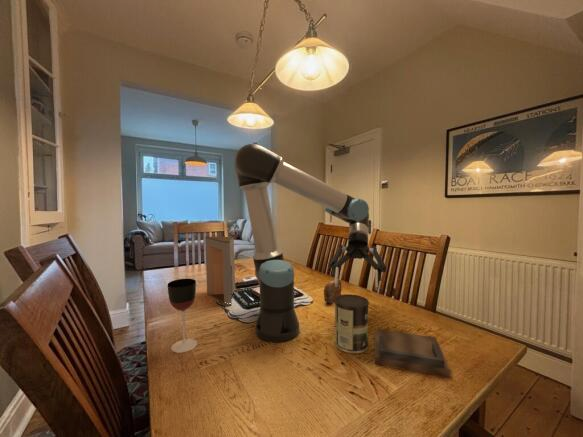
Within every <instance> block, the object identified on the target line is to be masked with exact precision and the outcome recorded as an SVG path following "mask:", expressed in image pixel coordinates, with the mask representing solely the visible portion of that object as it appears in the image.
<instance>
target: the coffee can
mask: <svg viewBox="0 0 583 437" xmlns="http://www.w3.org/2000/svg"><path fill="white" fill-rule="evenodd" d="M369 305H370V301H369V299H367V298H366V297H364V296H361V295H358V294H348V293H347V294H341V295H340V296H337V297H336V298H335V302H334V345H335V347H336V348H337V349H338V350H340V351H342V352H345V353H348V354H362V353H365V352H366V351H367V350H368V348H369Z"/></svg>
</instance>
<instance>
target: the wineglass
mask: <svg viewBox="0 0 583 437" xmlns="http://www.w3.org/2000/svg"><path fill="white" fill-rule="evenodd" d="M196 288H197V281H196V279H194V278H179V279H175V280H172V281H169V282H168V283H167V292H168V293H167V294H168V299H169V303H170V304H171V307H172V308H174V309H176V310H178V311H180V312H181V323H182V326H181V327H182V339H181V340H179V341H177V342H175V343H173V344H172V345H171V347H170V349H171V351H172V352H174V353H177V354H178V353H180V354H181V353H187V352H188V351H191V350H193V349H194V348H196V346H197V345H198V341H197V340H196V339H193V338H187V337H186V320H185V319H186V318H185V317H186V316H185V315H186V314H185V311H186V310H187V309H189V308H190V307H191V306H192V305H193V304H194V301H195V298H196ZM186 338H187V339H186Z"/></svg>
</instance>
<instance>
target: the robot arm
mask: <svg viewBox="0 0 583 437" xmlns="http://www.w3.org/2000/svg"><path fill="white" fill-rule="evenodd" d="M234 161H235V162H234V169H235V173H236V176H237V181H238V187H239V188H240V189H241V190H242V191H243V192H244V197H245V201H246V207H247V212H248V218H249V223H250V227H251V228H250V229H251V232H252V233H251V234H252V238H253V243H254V244H253V245H254V249H255V253H254V255H253V264H254V270H255V271H254V273H255V277H256V280H257V283H258V286H259V312H258V316H257V318H256V322H255V324H254V325H255V330H254V331H255V335H256V337H257V338H259V339H260V340H263V341H266V342H270V343H281V342H287V341H291V340H292V339H293V338H295V337H297V336H298V335H299V333H300V322H299V318H298V315H297V312H296V310H295V271H294V266H293V265H292V264H291V262H288V261H285V259H284V254H283V253H284V252H283V250H282V249H280V248H279V247H278V242H277V236H276V231H275V226H274V221H273V214H272V208H271V204H270V203H271V202H270V198H269V192H268V187H269V185H270V184H271V183H274V184H277V185H279V186H281V187H283V188H285V189H287V190H289V191H291V192H294V193H295V194H297V195H299V196H301V197H304V198H306V199H307V200H310V201H312V202H314V203H316V204H318V205H320V206H322V207H323V209H324V212H326V213H328V214H329V215H331V216H333V217H336V218H338V219H340V220H341V221H344V222H345V223H348V224H349V226H348V227H349V228H348V237H347V238H348V240H347V241H348V242H347V246H343V245H342V244H339V246H338V249H337V251H336V252H335V254H334V255H333V256H332V257H331V259H330V260H329V261H328V267H329V269H332V274H331V275H332V277H333V278H334V279H335V281H334V284H335V287H337V284H338V280H339V271H340V270H339V268H341V267H342V266H343V265H344V264H345V263H346V262H347V261H348V260H349V261H350V260H351V258H352V259H359V260H362V259H364V261H366V262H367V263H368V264H369V265H370V266H371V267H372V269H374V270H375V272H374V273H375V274H374V282H375V284H374V285H375V286H374V287H375V288H374V291H376V292H377V291H378V290H379V288H378V287H379V282H381V281H382V273H385V272H387V265H386V264H385V262H384V260H383V258H382V257H381V255H380V254H379V251H378V249H377V246H375V245H374V246H373V247H369V221H370V220H369V219H370V213H369V211H370V207H369V204H368V203H367V201H366V200H364V199H361V198H355V197H353V196H351V195H349V194H347V193H346V192H343V191H341V190H339V189H337V188H336V187H334V186H331V185H330V184H329V183H326V182H325V181H323V180H320V179H318V178H317V177H314V176H312V175H310V174H309V173H307V172H304V171H303V170H301V169H299V168H297V167H295V166H294V165H291V164H289V163H287V162H285V160H284V159H283V157H282V156H281V155H278V154H277V153H275V152H274V151H272V150H269V149H268V148H266V147H264V146H262V145H259V144H257V143H251V144H250V143H247V144H245V145H243V146H242V147H240V148H239V149H238V151H237V152H236V155H235V159H234ZM345 251H346V253H344V252H345ZM343 253H344V255H343V256H342V254H343ZM369 253H371V254H372V255H373V257H374V259H375V260H376V261H375V260H374V259H373V258H372V257H371V256H370V254H369ZM341 256H342V257H341Z"/></svg>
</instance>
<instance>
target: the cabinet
mask: <svg viewBox="0 0 583 437" xmlns="http://www.w3.org/2000/svg"><path fill="white" fill-rule="evenodd" d="M204 239H205V241H204V242H205V264H206V266H205V267H206V270H205V271H206V272H205V273H206V294H207V295H208V296H211V297H212V298H214V299H215V300H216V301H217V302H220V303H221V304H223V305H225V306H226V307H228V308H229V307H231V306H232V300H233V298H234V297H235V295H233V296H231V294H233V292H234V291H235V292H236V276H235V275H236V274H235V271H236V270H235V238H234V236H205V237H204ZM225 302H226V303H225ZM227 303H228V304H227ZM229 303H231V304H229Z"/></svg>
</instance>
